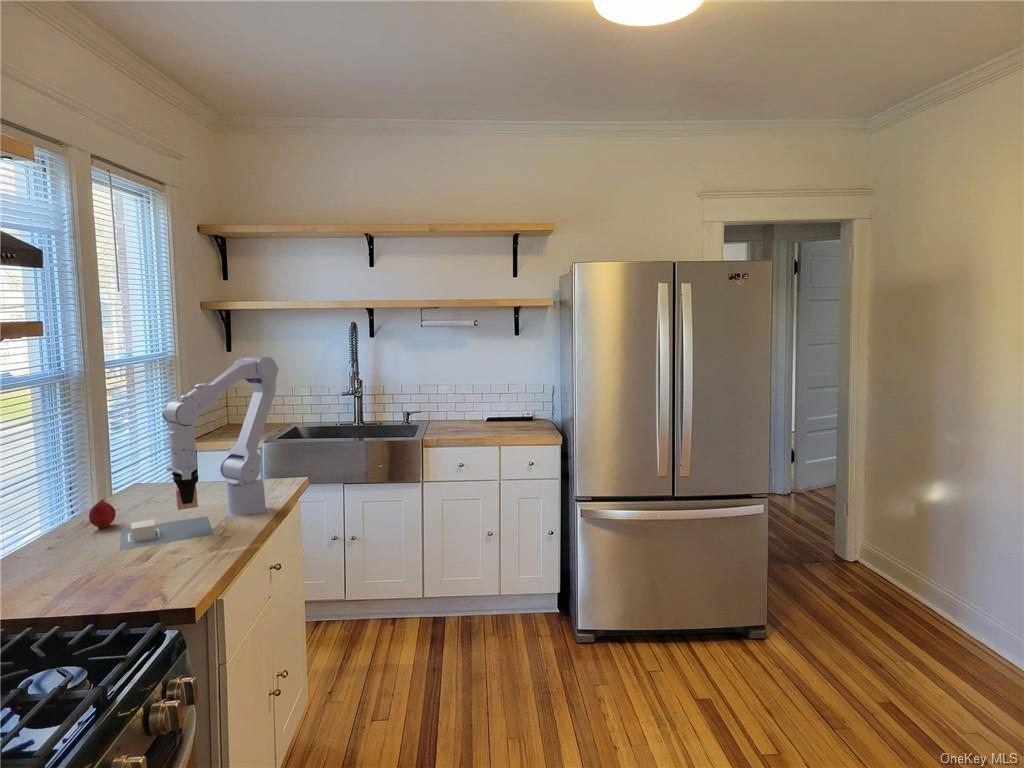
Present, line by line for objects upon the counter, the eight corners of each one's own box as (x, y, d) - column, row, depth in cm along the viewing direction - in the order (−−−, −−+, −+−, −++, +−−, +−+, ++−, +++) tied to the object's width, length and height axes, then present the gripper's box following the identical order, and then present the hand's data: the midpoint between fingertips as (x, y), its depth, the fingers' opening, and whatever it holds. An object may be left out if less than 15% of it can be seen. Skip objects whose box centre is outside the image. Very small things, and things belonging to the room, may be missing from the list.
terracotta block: (196, 502, 167) (194, 483, 166) (197, 507, 163) (196, 488, 162) (176, 505, 164) (175, 486, 164) (177, 510, 161) (176, 490, 160)
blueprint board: (207, 518, 174) (206, 505, 173) (213, 536, 160) (212, 522, 160) (121, 531, 164) (120, 518, 163) (120, 552, 150) (118, 537, 150)
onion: (103, 533, 163) (101, 503, 162) (84, 532, 164) (81, 501, 163) (121, 525, 168) (119, 496, 167) (103, 524, 169) (100, 495, 168)
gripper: (164, 444, 166) (167, 495, 168) (166, 456, 153) (170, 511, 155) (194, 441, 169) (197, 491, 171) (199, 452, 157) (202, 506, 159)
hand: (187, 500), depth 163 cm, fingers closed on terracotta block, 4 cm apart
